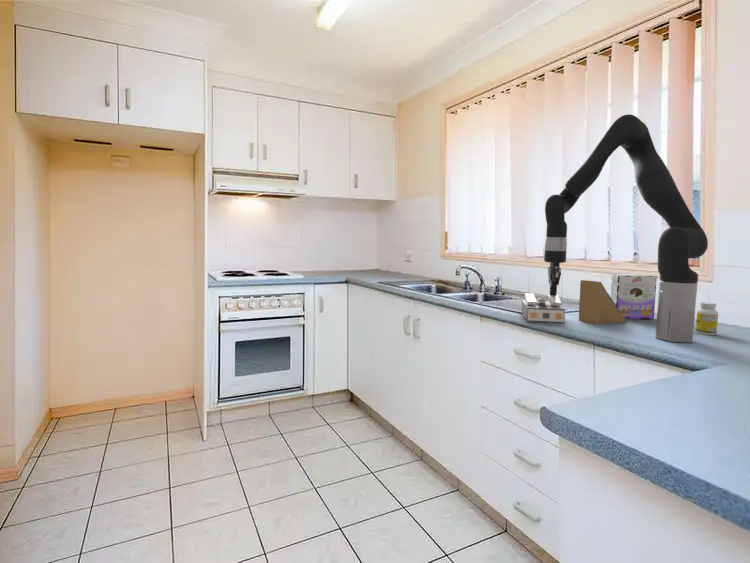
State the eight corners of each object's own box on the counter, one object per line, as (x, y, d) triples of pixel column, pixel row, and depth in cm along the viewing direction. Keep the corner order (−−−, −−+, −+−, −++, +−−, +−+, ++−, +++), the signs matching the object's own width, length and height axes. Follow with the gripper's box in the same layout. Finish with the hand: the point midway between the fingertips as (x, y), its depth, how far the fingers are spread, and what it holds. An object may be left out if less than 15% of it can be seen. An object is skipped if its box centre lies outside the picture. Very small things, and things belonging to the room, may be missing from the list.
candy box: (646, 316, 170) (649, 274, 168) (654, 319, 164) (657, 275, 162) (608, 315, 171) (611, 273, 169) (615, 318, 165) (618, 274, 163)
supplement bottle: (695, 330, 145) (698, 301, 144) (716, 333, 142) (719, 302, 141) (694, 333, 141) (697, 303, 140) (716, 336, 137) (719, 304, 136)
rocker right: (561, 305, 159) (561, 302, 158) (551, 305, 159) (552, 302, 159) (556, 297, 167) (557, 294, 167) (547, 297, 168) (548, 294, 167)
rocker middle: (549, 300, 159) (549, 297, 159) (539, 300, 160) (539, 296, 160) (544, 302, 168) (544, 298, 168) (535, 301, 169) (536, 298, 169)
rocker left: (536, 305, 160) (536, 301, 160) (527, 304, 161) (527, 301, 161) (533, 296, 169) (533, 293, 168) (524, 296, 169) (524, 293, 169)
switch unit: (564, 323, 154) (565, 307, 153) (527, 321, 157) (528, 305, 156) (554, 314, 172) (555, 299, 171) (521, 312, 175) (522, 298, 174)
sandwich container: (628, 321, 160) (631, 280, 158) (598, 325, 153) (601, 282, 152) (607, 317, 168) (609, 278, 166) (577, 320, 161) (580, 279, 160)
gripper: (570, 250, 157) (567, 298, 159) (562, 249, 170) (560, 293, 172) (547, 250, 159) (545, 297, 161) (542, 248, 172) (539, 292, 174)
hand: (552, 295), depth 167 cm, fingers closed
